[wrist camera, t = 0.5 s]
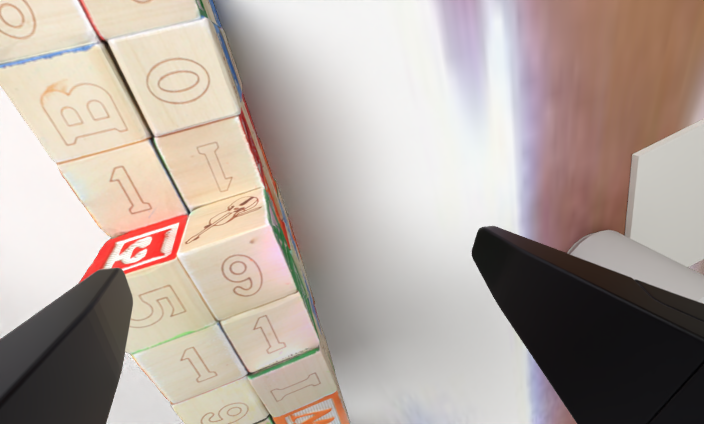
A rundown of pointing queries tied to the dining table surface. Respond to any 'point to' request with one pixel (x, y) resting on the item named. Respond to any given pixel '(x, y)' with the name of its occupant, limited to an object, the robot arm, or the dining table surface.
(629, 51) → the dining table surface
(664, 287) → the can
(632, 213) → the mat
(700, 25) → the dining table surface
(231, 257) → the stack of blocks
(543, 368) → the robot arm
